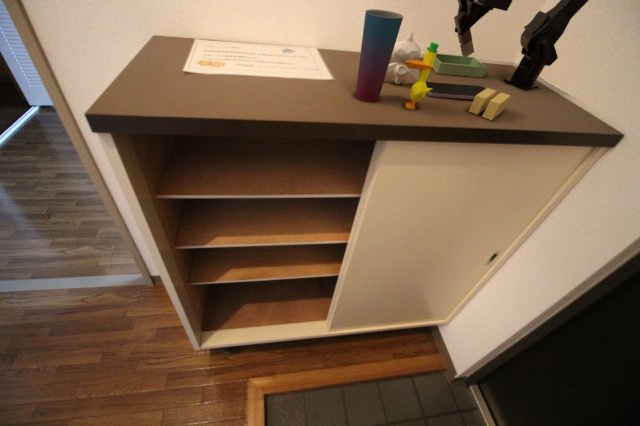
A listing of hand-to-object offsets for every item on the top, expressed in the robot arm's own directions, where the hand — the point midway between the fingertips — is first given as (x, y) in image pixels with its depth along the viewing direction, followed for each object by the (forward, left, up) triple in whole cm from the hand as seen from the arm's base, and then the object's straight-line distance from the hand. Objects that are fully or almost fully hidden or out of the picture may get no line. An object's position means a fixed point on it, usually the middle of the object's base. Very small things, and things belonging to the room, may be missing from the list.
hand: (458, 33), depth 73 cm
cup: (+33, +8, -9) cm, 35 cm away
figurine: (+21, +4, -9) cm, 23 cm away
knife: (-5, +2, -5) cm, 7 cm away
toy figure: (+27, +15, -9) cm, 32 cm away
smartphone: (+10, +13, -9) cm, 19 cm away
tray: (-4, 0, -9) cm, 10 cm away
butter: (+11, +22, -9) cm, 26 cm away
